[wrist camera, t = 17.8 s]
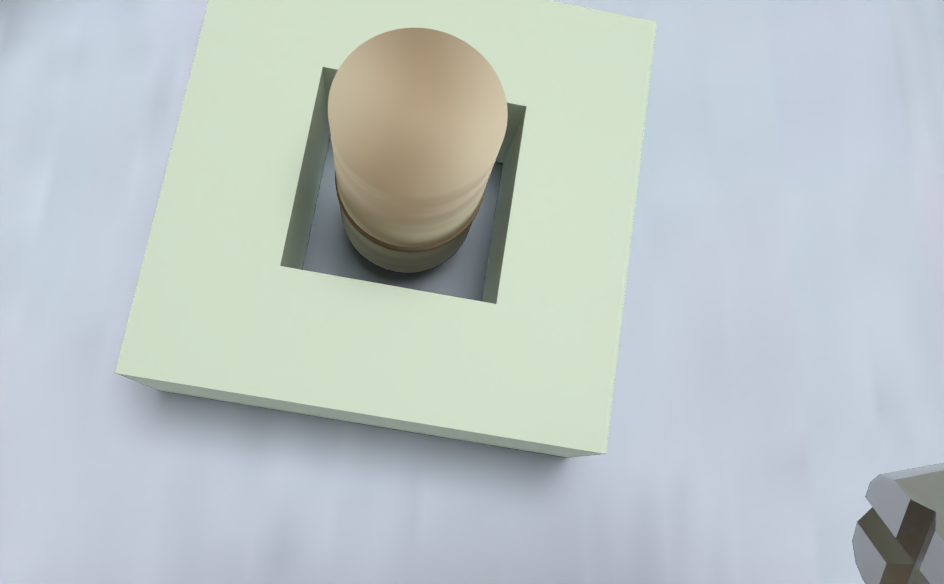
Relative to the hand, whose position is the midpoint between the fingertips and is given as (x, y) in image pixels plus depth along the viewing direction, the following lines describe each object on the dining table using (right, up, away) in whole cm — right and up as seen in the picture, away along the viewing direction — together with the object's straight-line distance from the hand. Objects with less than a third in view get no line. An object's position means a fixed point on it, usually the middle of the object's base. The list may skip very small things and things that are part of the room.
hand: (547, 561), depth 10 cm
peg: (-3, +6, +20) cm, 21 cm away
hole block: (-3, +5, +20) cm, 21 cm away
